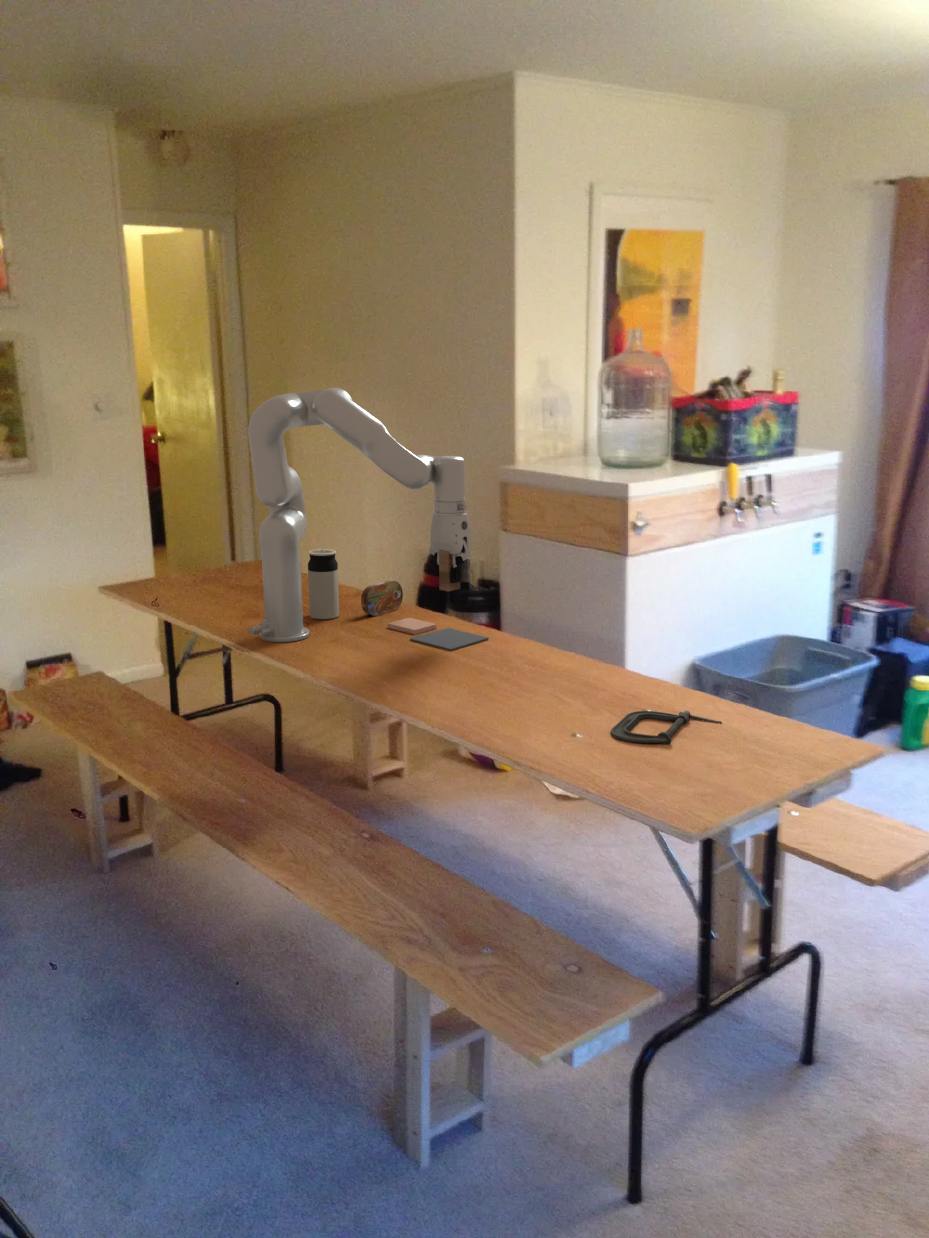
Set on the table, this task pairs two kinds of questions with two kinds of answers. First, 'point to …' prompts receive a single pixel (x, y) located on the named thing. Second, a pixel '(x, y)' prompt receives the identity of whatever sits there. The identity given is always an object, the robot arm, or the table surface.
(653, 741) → the c clamp
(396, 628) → the tile
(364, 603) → the tin
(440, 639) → the mat
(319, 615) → the travel mug
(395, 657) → the table surface
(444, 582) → the brown grey block
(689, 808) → the table surface
